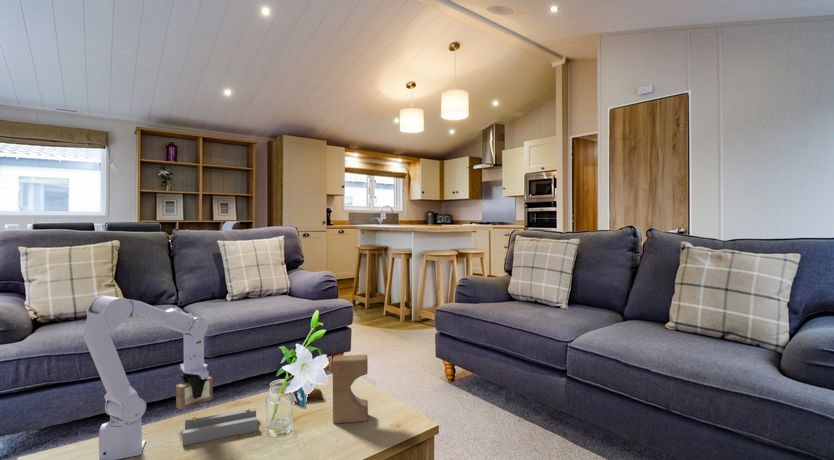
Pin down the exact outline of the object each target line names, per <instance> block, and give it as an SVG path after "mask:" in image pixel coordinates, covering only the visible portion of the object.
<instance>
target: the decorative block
mask: <svg viewBox="0 0 834 460" xmlns="http://www.w3.org/2000/svg"><path fill="white" fill-rule="evenodd" d="M332 358H333V359H332V423H333V424H335V425H336V424H337V425H338V424H349V423H363V422H366V423H367V422H368V420H369V407H368V406H369V404H368V403H369V402H368V400H367V399H363V398H359V397H358V396H357V395H355V394H354V392H353V391H352V388H351V387H352V385H353V383H354V382H355V381H356V380H358V379H359V378H360V377H363V376H367V375H368V374H369V373H368V371H369V370H368V369H369V368H368V367H369V365H368V364H369V363H368V360H369V359H368V355H367V354H354V355H349V354H348V355H337V356H336V355H334V356H333V357H332Z"/></svg>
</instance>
